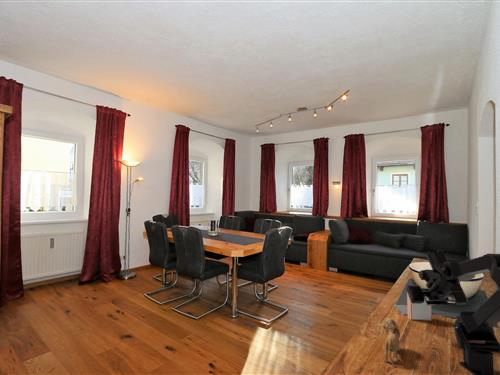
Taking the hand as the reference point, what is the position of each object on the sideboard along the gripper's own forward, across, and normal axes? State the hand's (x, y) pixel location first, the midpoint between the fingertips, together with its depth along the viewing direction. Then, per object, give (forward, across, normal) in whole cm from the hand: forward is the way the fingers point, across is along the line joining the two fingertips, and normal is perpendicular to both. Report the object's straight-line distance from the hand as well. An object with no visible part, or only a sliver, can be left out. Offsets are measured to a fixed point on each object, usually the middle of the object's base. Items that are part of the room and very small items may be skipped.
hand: (427, 304), depth 107 cm
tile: (+11, 0, +1) cm, 11 cm away
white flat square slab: (+16, 0, -4) cm, 17 cm away
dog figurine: (-9, +22, +20) cm, 31 cm away
